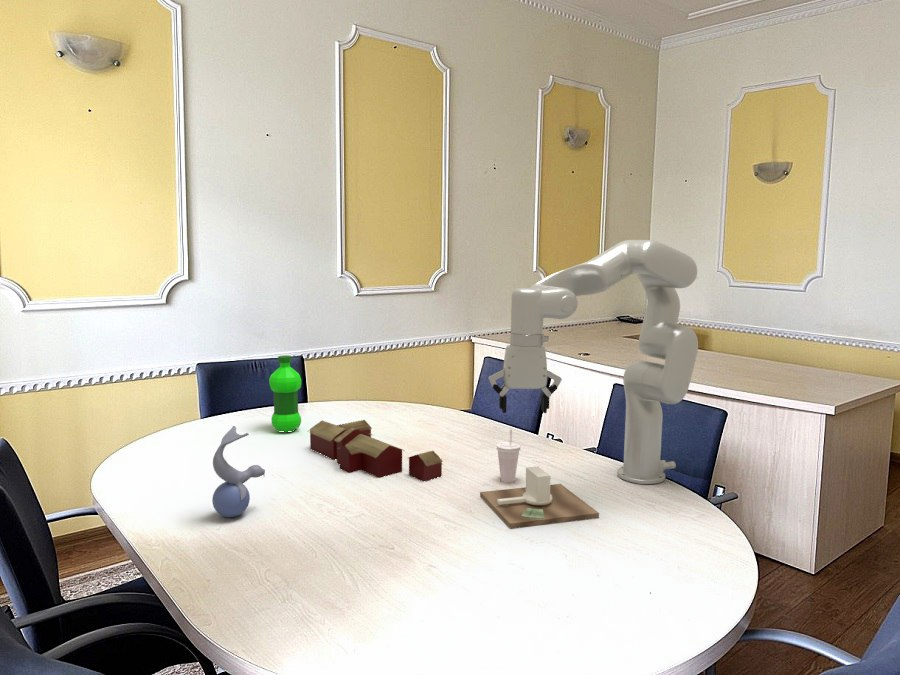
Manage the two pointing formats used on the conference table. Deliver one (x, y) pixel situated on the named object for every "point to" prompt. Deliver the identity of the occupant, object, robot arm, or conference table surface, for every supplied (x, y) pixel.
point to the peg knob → (533, 488)
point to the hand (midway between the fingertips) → (523, 411)
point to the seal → (232, 480)
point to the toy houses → (369, 451)
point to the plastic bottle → (285, 396)
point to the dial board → (539, 507)
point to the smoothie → (508, 459)
